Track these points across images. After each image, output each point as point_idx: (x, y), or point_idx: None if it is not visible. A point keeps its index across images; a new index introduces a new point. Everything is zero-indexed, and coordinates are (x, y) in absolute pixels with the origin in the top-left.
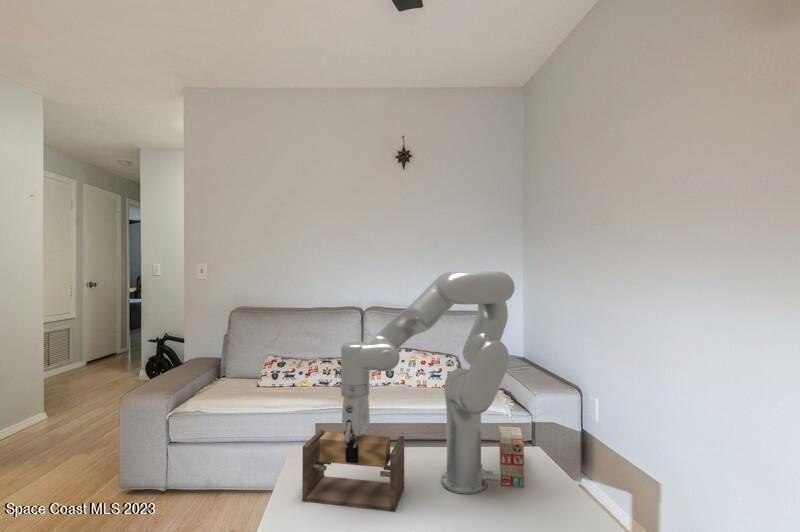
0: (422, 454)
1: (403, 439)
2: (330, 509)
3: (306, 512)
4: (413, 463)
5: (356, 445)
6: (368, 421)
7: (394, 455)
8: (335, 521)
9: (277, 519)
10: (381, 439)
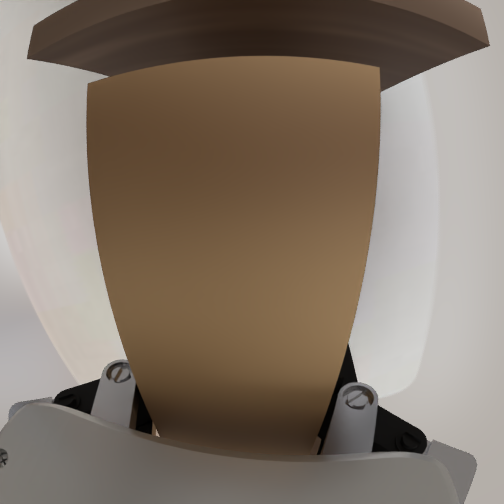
0: (5, 122)
1: (68, 13)
2: (364, 298)
3: (376, 346)
4: (39, 122)
5: (342, 396)
6: (38, 453)
7: (477, 15)
8: (421, 266)
9: (396, 382)
10: (199, 169)
